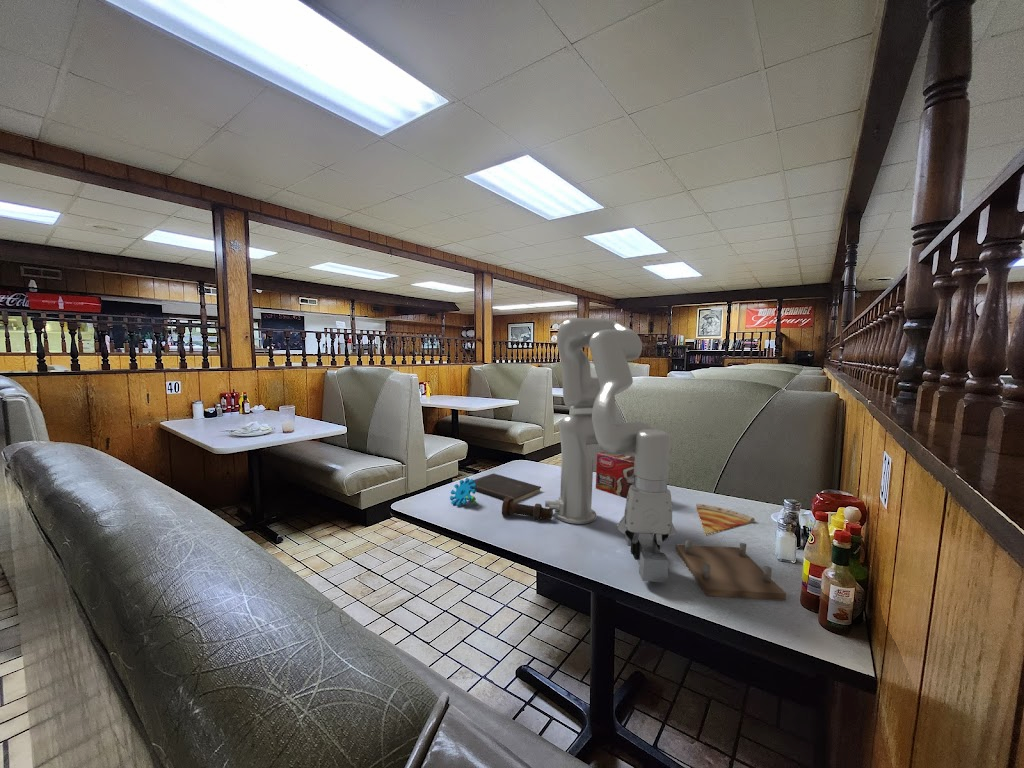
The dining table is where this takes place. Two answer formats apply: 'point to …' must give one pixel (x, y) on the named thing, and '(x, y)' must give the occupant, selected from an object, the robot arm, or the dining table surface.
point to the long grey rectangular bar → (650, 559)
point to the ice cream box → (614, 473)
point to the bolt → (526, 510)
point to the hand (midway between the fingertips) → (644, 556)
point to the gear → (464, 492)
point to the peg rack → (729, 572)
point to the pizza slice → (720, 518)
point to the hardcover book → (504, 487)
